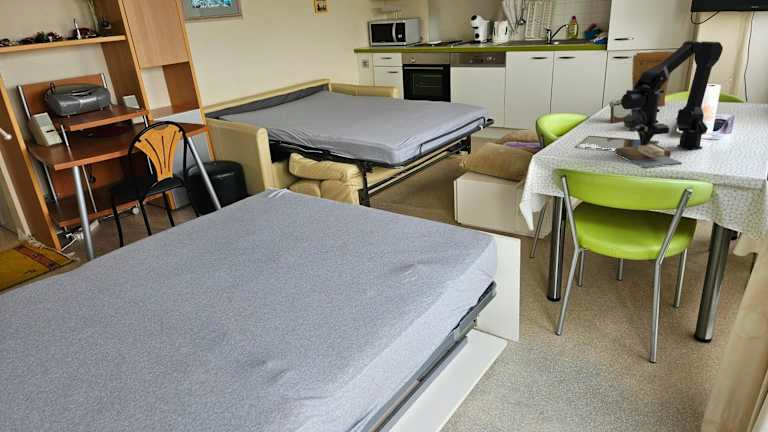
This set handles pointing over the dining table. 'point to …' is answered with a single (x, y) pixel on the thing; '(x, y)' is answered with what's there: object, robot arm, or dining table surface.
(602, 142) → the rectangular mirror
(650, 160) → the rubber mat
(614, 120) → the food container
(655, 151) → the maple tile
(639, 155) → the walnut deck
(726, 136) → the dining table surface
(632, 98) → the robot arm
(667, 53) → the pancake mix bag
